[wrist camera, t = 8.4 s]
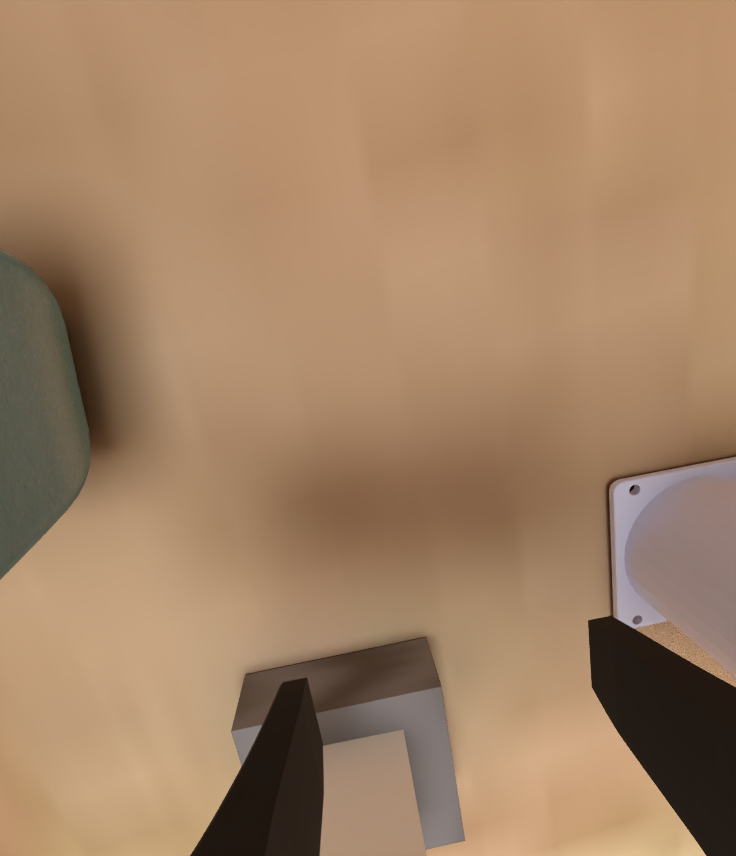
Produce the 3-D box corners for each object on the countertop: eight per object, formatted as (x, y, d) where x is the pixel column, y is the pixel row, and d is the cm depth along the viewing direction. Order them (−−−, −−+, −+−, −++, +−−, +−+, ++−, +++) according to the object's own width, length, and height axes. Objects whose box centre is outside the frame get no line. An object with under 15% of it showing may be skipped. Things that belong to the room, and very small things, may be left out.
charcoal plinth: (426, 637, 21) (441, 686, 18) (448, 776, 23) (465, 840, 20) (245, 674, 21) (231, 731, 18) (284, 813, 23) (277, 883, 20)
